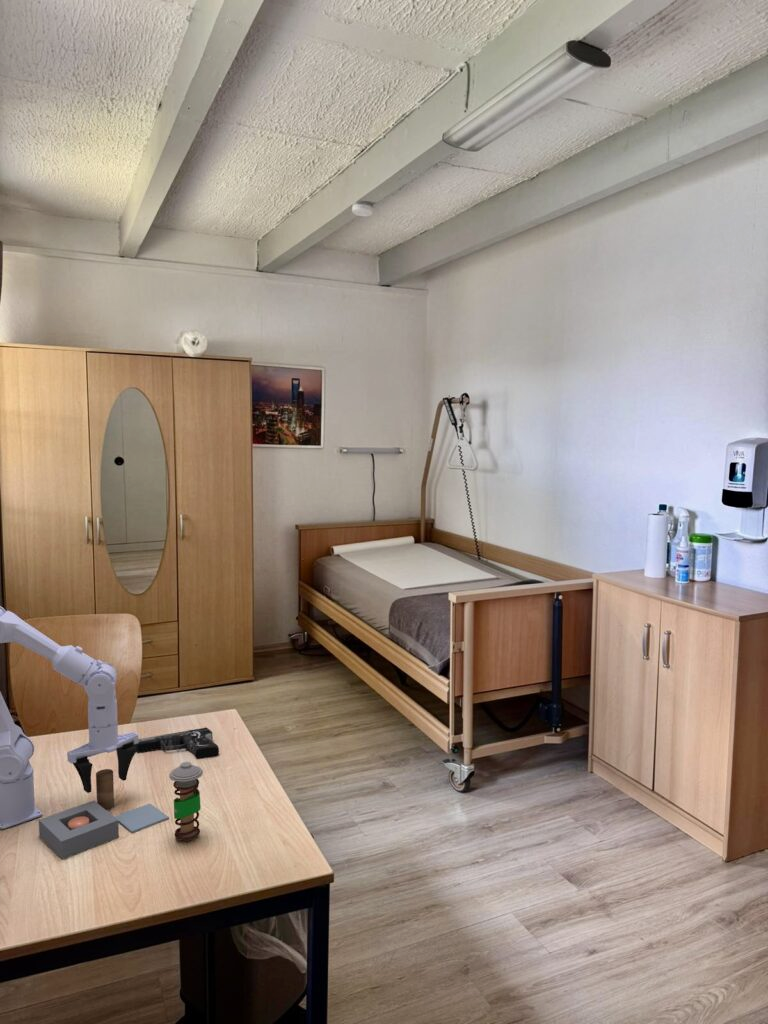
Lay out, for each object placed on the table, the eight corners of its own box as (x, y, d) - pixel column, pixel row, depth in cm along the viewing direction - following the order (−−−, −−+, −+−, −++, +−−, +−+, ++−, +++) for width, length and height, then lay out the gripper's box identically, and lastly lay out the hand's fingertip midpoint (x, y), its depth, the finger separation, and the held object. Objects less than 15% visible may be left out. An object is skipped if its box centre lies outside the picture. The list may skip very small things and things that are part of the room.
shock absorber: (169, 832, 146) (167, 759, 145) (201, 826, 148) (200, 755, 147) (172, 849, 140) (170, 773, 139) (206, 842, 142) (204, 768, 141)
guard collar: (39, 836, 144) (38, 819, 144) (94, 816, 152) (93, 800, 152) (62, 859, 136) (61, 841, 136) (118, 837, 144) (118, 820, 144)
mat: (113, 818, 151) (113, 816, 151) (150, 805, 157) (149, 803, 157) (132, 833, 146) (132, 831, 146) (168, 818, 151) (168, 816, 151)
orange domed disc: (65, 827, 144) (64, 821, 144) (84, 820, 147) (84, 814, 146) (73, 834, 141) (72, 828, 141) (92, 827, 144) (92, 821, 144)
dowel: (94, 806, 156) (93, 772, 155) (109, 801, 158) (108, 767, 158) (101, 812, 154) (100, 777, 153) (116, 806, 156) (115, 772, 155)
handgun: (134, 759, 173) (129, 735, 186) (134, 773, 174) (129, 748, 186) (219, 744, 181) (209, 723, 194) (220, 758, 182) (209, 736, 194)
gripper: (76, 738, 146) (79, 803, 148) (144, 718, 157) (146, 779, 158) (62, 728, 151) (64, 791, 153) (129, 710, 162) (131, 769, 163)
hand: (105, 784), depth 156 cm, fingers open, 7 cm apart
